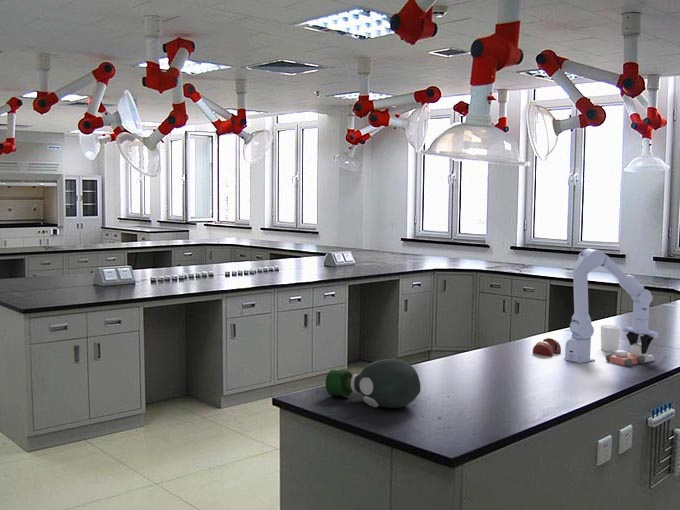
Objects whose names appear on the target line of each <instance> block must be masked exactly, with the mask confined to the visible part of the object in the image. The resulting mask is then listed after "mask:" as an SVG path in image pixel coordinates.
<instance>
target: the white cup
mask: <svg viewBox="0 0 680 510" xmlns="http://www.w3.org/2000/svg"><path fill="white" fill-rule="evenodd" d="M621 328H622V327H621V326H619V325H614V324H613V325H612V324H603V325H600V343H601V344H600V347H601V350H602V351H604V352H609V351H611V352H612V353H613V351H614V353H616V352H615V351H617V350H620V349H619V348H620V342H621V341H620V339H621V330H622V329H621Z"/></svg>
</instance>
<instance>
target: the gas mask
mask: <svg viewBox="0 0 680 510" xmlns="http://www.w3.org/2000/svg"><path fill="white" fill-rule="evenodd" d="M324 384H325V389H326V393H327V394H328V395H329V396H331V397H335V396H338V397H349V396H350V395H351V394H352V393H355V394H361V395H362V397H363V402H364V403H365V404H367V405H368V406H370V407H373V408H379V407H382V408H391V409H397V408H398V409H399V408H403V407H405V406H408V405H409V404H411V403H412V402H413V401H414V400H416V398H417V397H418V396H419V395H420V393H421V381H420V376H419V373H418V372H417V371H416V368H414V367H413V366H412V365H410V364H409V363H407V362H406V361H404V360H402V359H399V358H397V359H396V358H385V359H378V360H376V361H375V360H374V361H372V362H371V363H369V364H368V365H367V366H366V367H364V368H363V369H362V371H361V372H360V373H358V374H357V373H356V374H354V375H353V374H352V373H351V371H350V370H338V369H337V370H336V369H332V370H330V371H328V373H327V374H326V377H325V383H324Z"/></svg>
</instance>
